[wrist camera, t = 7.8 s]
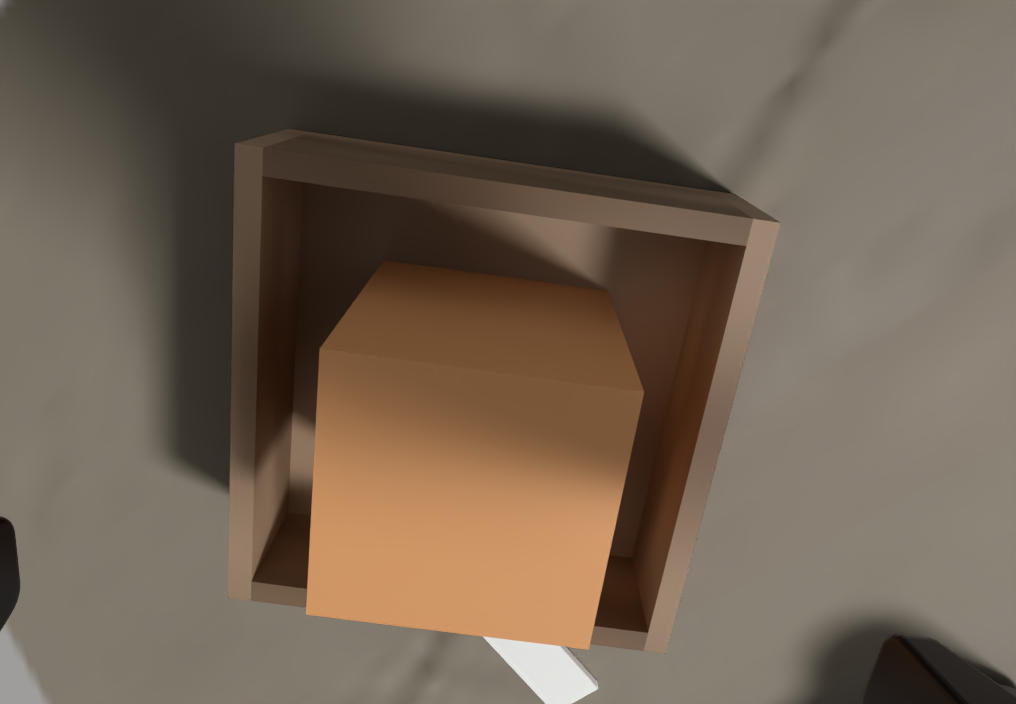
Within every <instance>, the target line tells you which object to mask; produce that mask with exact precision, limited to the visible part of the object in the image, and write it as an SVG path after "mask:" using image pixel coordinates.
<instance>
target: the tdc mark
mask: <svg viewBox="0 0 1016 704" xmlns="http://www.w3.org/2000/svg"><path fill="white" fill-rule="evenodd" d="M484 638H485V639H486V640H487V642H488V643H489V644H490V645H491V646H492V647H493V648H494V649H495V650H496V651H497V652H498V653H499V654H500V655H501V657H502V658H503V659H504V660H505V661H506V662H507V663H508V664H509V665H510V666H511V667H512V668H513V669H514V670H515V671H516V673H517V674H518V675H519V676H520V677H521V678H522V679H523V680H524V681H525V682H526V683H527V684H528V685H529V686H530V688H531V689H532V690H533V691H534V692H535V693H536V694H537V695H538V696H539V697H540V698H541V699H542V700H543V701H544V703H545V704H572V703H574V702H575V701H577V700H579V699H581V698H583V697H584V696H586V695H588V694H590V693H592V692H593V691H595V690H597V689H598V682H597V681H596V680H595V679H594V678H593V676H592V675H591V674H590V673H589V672H588V671H587V670H586V669H585V667H584V666H583V665H582V664H581V663H580V662H579V661H578V660H577V659H576V657H575V656H574V655H573V654H572V653H571V652H570V651H569V650H568V648H567V647H564V646H556V645H548V644H540V643H532V642H524V641H516V640H507V639H499V638H491V637H484Z"/></svg>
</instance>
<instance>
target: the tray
mask: <svg viewBox="0 0 1016 704" xmlns="http://www.w3.org/2000/svg"><path fill="white" fill-rule="evenodd" d="M780 224H781V223H780V222H779V221H777V220H776V219H774V218H772V217H771V216H769V215H768V214H766V213H764V212H763V211H761V210H760V209H758V208H756V207H755V206H753V205H752V204H750V203H748V202H747V201H745V200H744V199H742V198H740V197H739V196H737V195H736V194H732V193H725V192H718V191H711V190H704V189H697V188H690V187H684V186H677V185H670V184H663V183H656V182H649V181H643V180H636V179H629V178H622V177H615V176H608V175H602V174H595V173H588V172H581V171H574V170H567V169H561V168H554V167H547V166H540V165H533V164H526V163H520V162H513V161H506V160H499V159H492V158H485V157H478V156H472V155H465V154H458V153H451V152H444V151H437V150H431V149H424V148H417V147H410V146H403V145H396V144H390V143H383V142H376V141H369V140H362V139H355V138H349V137H342V136H335V135H328V134H321V133H314V132H307V131H301V130H294V129H285V130H282V131H278V132H274V133H271V134H267V135H263V136H260V137H256V138H252V139H249V140H245V141H241V142H238V143H234V211H233V283H232V354H231V426H230V498H229V569H228V598H236V599H244V600H251V601H259V602H267V603H275V604H283V605H290V606H298V607H306V604H307V585H308V565H309V546H310V526H311V507H312V488H313V468H314V449H315V429H316V410H317V390H318V371H319V352H320V348H321V346H322V345H323V343H324V342H325V341H326V339H327V338H328V337H329V335H330V334H331V332H332V331H333V330H334V328H335V327H336V325H337V324H338V323H339V321H340V320H341V319H342V317H343V316H344V314H345V313H346V312H347V310H348V309H349V308H350V306H351V305H352V303H353V302H354V301H355V299H356V298H357V296H358V295H359V294H360V292H361V291H362V290H363V288H364V287H365V285H366V284H367V283H368V281H369V280H370V279H371V277H372V276H373V274H374V273H375V272H376V270H377V269H378V267H379V266H380V265H381V263H382V262H383V261H384V260H386V261H393V262H401V263H408V264H415V265H423V266H430V267H437V268H445V269H452V270H459V271H467V272H474V273H481V274H489V275H496V276H503V277H511V278H518V279H525V280H533V281H540V282H547V283H554V284H562V285H569V286H576V287H584V288H591V289H598V290H606V291H608V293H609V295H610V298H611V301H612V304H613V307H614V309H615V312H616V315H617V318H618V320H619V323H620V326H621V329H622V332H623V334H624V337H625V340H626V343H627V345H628V348H629V351H630V354H631V357H632V359H633V362H634V365H635V368H636V370H637V373H638V376H639V379H640V382H641V384H642V387H643V390H644V396H643V400H642V405H641V409H640V414H639V419H638V423H637V428H636V433H635V437H634V442H633V447H632V451H631V456H630V461H629V465H628V470H627V474H626V479H625V484H624V488H623V493H622V498H621V502H620V507H619V512H618V516H617V521H616V526H615V530H614V535H613V539H612V544H611V549H610V553H609V558H608V563H607V567H606V572H605V577H604V581H603V586H602V591H601V595H600V600H599V604H598V609H597V614H596V618H595V623H594V628H593V632H592V637H591V642H590V644H593V645H601V646H609V647H617V648H625V649H632V650H640V651H648V652H656V653H663V654H666V651H667V647H668V644H669V640H670V636H671V632H672V629H673V625H674V621H675V617H676V614H677V610H678V606H679V602H680V599H681V595H682V591H683V587H684V584H685V580H686V576H687V572H688V569H689V565H690V561H691V557H692V554H693V550H694V546H695V542H696V539H697V535H698V531H699V527H700V524H701V520H702V516H703V513H704V509H705V505H706V501H707V498H708V494H709V490H710V486H711V483H712V479H713V475H714V471H715V468H716V464H717V460H718V456H719V453H720V449H721V445H722V441H723V438H724V434H725V430H726V426H727V423H728V419H729V415H730V411H731V408H732V404H733V400H734V396H735V393H736V389H737V385H738V381H739V378H740V374H741V370H742V367H743V363H744V359H745V355H746V352H747V348H748V344H749V340H750V337H751V333H752V329H753V325H754V322H755V318H756V314H757V310H758V307H759V303H760V299H761V295H762V292H763V288H764V284H765V280H766V277H767V273H768V269H769V265H770V262H771V258H772V254H773V250H774V247H775V243H776V239H777V236H778V232H779V228H780Z"/></svg>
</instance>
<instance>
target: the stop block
mask: <svg viewBox="0 0 1016 704" xmlns="http://www.w3.org/2000/svg"><path fill="white" fill-rule="evenodd" d="M643 396H644V390H643V387H642V384H641V382H640V379H639V376H638V373H637V370H636V368H635V365H634V362H633V359H632V357H631V354H630V351H629V348H628V345H627V343H626V340H625V337H624V334H623V332H622V329H621V326H620V323H619V320H618V318H617V315H616V312H615V309H614V307H613V304H612V301H611V298H610V295H609V293H608V291H606V290H598V289H591V288H584V287H576V286H569V285H562V284H554V283H547V282H540V281H533V280H525V279H518V278H511V277H503V276H496V275H489V274H481V273H474V272H467V271H459V270H452V269H445V268H437V267H430V266H423V265H415V264H408V263H401V262H393V261H386V260H384V261H383V262H382V263H381V265H380V266H379V267H378V269H377V270H376V272H375V273H374V274H373V276H372V277H371V279H370V280H369V281H368V283H367V284H366V285H365V287H364V288H363V290H362V291H361V292H360V294H359V295H358V296H357V298H356V299H355V301H354V302H353V303H352V305H351V306H350V308H349V309H348V310H347V312H346V313H345V314H344V316H343V317H342V319H341V320H340V321H339V323H338V324H337V325H336V327H335V328H334V330H333V331H332V332H331V334H330V335H329V337H328V338H327V339H326V341H325V342H324V343H323V345H322V346H321V348H320V352H319V371H318V390H317V410H316V429H315V449H314V468H313V488H312V507H311V526H310V546H309V565H308V585H307V604H306V615H314V616H322V617H330V618H338V619H346V620H354V621H362V622H370V623H379V624H387V625H395V626H403V627H411V628H419V629H427V630H435V631H443V632H451V633H459V634H467V635H475V636H483V637H491V638H499V639H507V640H516V641H524V642H532V643H540V644H548V645H556V646H564V647H572V648H580V649H588V650H589V646H590V642H591V637H592V632H593V628H594V623H595V618H596V614H597V609H598V604H599V600H600V595H601V591H602V586H603V581H604V577H605V572H606V567H607V563H608V558H609V553H610V549H611V544H612V539H613V535H614V530H615V526H616V521H617V516H618V512H619V507H620V502H621V498H622V493H623V488H624V484H625V479H626V474H627V470H628V465H629V461H630V456H631V451H632V447H633V442H634V437H635V433H636V428H637V423H638V419H639V414H640V409H641V405H642V400H643Z"/></svg>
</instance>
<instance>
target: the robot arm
mask: <svg viewBox="0 0 1016 704" xmlns="http://www.w3.org/2000/svg"><path fill="white" fill-rule="evenodd" d="M19 592H20V576H19V566H18V557H17V547H16V538H15V531H14V527H13V525H12V523H11V522H10V521H9V520H8V519H6V518H4V517H0V631H1V629H2V628H3V626H4V625H5V623H6V621H7V620H8V618H9V616H10V615H11V613H12V611H13V609H14V608H15V605H16V603H17V600H18V597H19ZM862 704H1016V696H1015V695H1013V694H1012V693H1011V692H1009V691H1008V690H1006V689H1005V688H1003V687H1002V686H1001V685H999V684H998V683H996V682H995V681H993V680H992V679H990V678H989V677H988V676H986V675H985V674H983V673H982V672H980V671H979V670H978V669H976V668H975V667H973V666H972V665H970V664H969V663H968V662H966V661H965V660H963V659H962V658H960V657H959V656H958V655H956V654H955V653H953V652H952V651H950V650H949V649H948V648H946V647H945V646H943V645H942V644H940V643H939V642H938V641H936V640H934V639H932V638H929V637H923V636H916V635H908V634H900V633H895V634H892V635H890V636H888V637H887V638H886V639H885V641H884V643H883V645H882V647H881V649H880V652H879V655H878V657H877V660H876V662H875V665H874V667H873V670H872V672H871V675H870V678H869V680H868V683H867V685H866V688H865V691H864V694H863V701H862Z"/></svg>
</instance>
